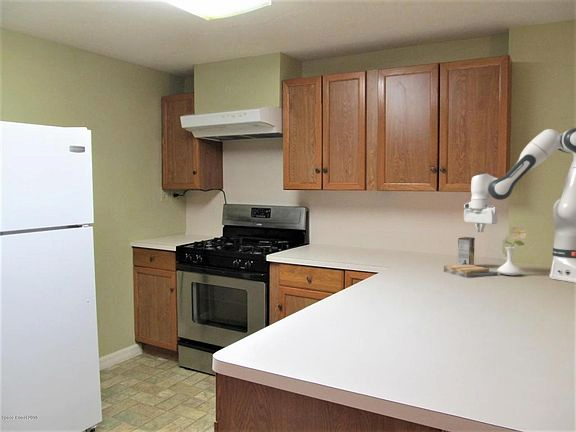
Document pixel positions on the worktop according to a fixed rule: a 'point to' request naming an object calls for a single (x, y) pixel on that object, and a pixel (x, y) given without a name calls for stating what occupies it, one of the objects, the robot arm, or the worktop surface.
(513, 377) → the worktop surface
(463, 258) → the coffee box
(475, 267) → the light wood flat slab
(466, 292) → the worktop surface
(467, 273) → the underlay panel
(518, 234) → the flower in vase
